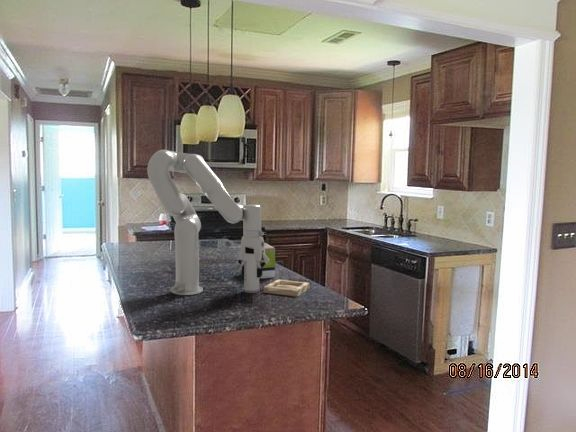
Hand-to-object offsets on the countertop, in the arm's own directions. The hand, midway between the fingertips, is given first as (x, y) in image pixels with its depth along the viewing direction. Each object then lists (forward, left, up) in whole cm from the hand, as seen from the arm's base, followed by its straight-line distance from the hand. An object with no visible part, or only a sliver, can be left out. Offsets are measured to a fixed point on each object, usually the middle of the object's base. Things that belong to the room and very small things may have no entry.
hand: (252, 275), depth 199 cm
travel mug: (0, 0, -7) cm, 7 cm away
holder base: (+8, -13, -7) cm, 17 cm away
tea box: (+30, +10, -7) cm, 32 cm away
